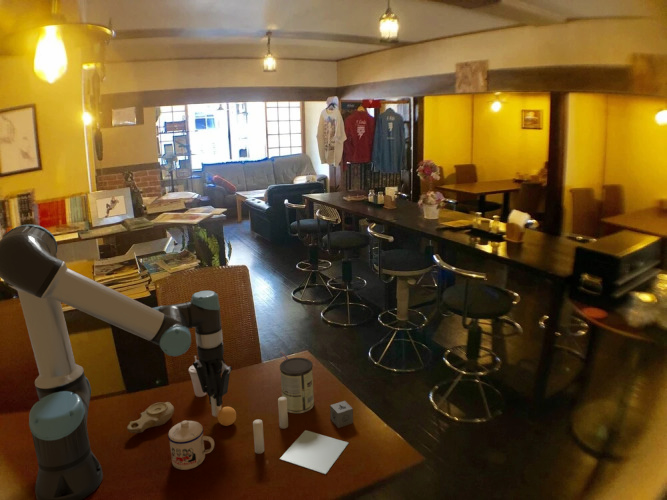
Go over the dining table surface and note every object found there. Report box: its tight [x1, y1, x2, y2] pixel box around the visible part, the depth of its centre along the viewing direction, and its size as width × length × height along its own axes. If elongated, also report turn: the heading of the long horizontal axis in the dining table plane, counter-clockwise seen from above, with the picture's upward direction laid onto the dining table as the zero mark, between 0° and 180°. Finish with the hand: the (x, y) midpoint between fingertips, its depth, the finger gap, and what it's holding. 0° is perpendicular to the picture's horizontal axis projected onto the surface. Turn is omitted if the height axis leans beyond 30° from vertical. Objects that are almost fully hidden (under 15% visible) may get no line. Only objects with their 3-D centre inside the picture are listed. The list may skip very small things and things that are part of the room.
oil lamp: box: [126, 401, 175, 434], centre depth 151 cm, size 11×14×5 cm
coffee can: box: [279, 357, 315, 414], centre depth 159 cm, size 10×10×14 cm
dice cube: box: [329, 400, 354, 429], centre depth 151 cm, size 5×5×5 cm
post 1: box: [252, 419, 265, 455], centre depth 138 cm, size 3×3×9 cm
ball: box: [217, 406, 237, 427], centre depth 151 cm, size 6×6×6 cm
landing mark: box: [279, 429, 349, 475], centre depth 138 cm, size 14×14×1 cm
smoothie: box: [188, 355, 208, 398], centre depth 166 cm, size 6×6×14 cm
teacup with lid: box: [167, 420, 215, 471], centre depth 134 cm, size 12×9×12 cm
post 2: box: [277, 396, 289, 429], centre depth 149 cm, size 3×3×9 cm
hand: (217, 413), depth 153 cm, fingers closed
